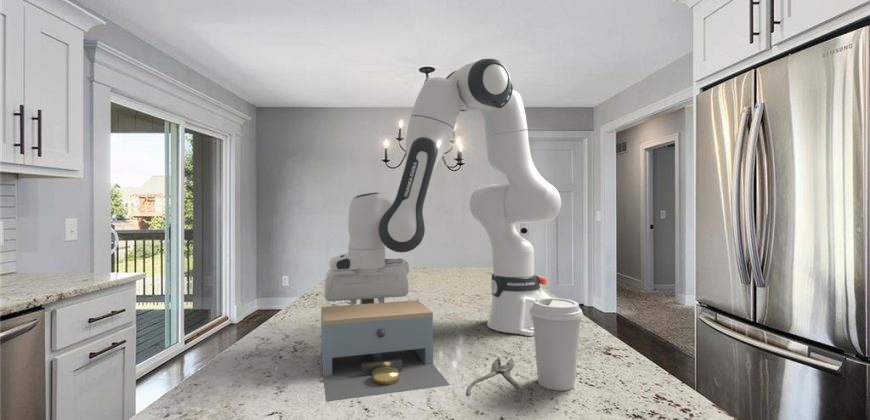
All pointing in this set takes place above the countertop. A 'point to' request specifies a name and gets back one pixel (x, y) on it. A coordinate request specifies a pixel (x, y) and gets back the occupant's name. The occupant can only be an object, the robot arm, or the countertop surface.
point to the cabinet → (375, 330)
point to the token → (385, 376)
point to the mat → (354, 384)
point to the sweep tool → (378, 356)
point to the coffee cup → (556, 341)
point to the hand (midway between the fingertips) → (367, 316)
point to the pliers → (497, 369)
